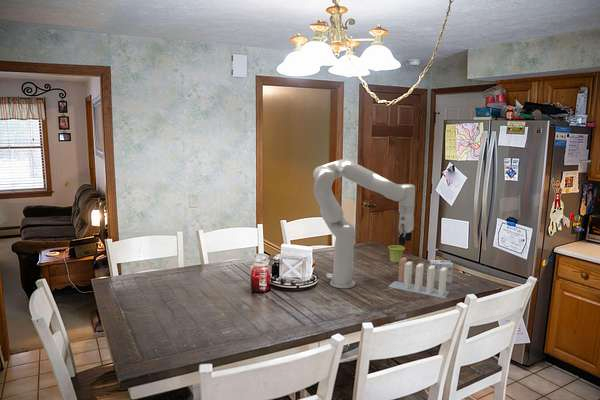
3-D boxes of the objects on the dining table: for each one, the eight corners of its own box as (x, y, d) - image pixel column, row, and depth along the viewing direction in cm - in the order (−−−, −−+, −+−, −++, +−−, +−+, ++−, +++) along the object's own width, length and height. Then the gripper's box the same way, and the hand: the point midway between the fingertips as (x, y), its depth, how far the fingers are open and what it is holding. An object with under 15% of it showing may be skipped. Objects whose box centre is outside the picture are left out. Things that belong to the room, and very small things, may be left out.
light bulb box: (449, 280, 233) (450, 260, 232) (452, 284, 227) (453, 264, 225) (428, 279, 234) (429, 259, 233) (430, 283, 228) (432, 262, 226)
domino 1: (398, 282, 227) (399, 260, 225) (401, 279, 232) (403, 257, 231) (401, 283, 226) (403, 260, 224) (405, 280, 231) (407, 257, 230)
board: (387, 288, 219) (387, 286, 219) (394, 282, 227) (394, 281, 227) (444, 300, 205) (444, 298, 205) (449, 293, 214) (449, 291, 214)
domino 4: (426, 292, 211) (427, 268, 209) (429, 289, 216) (431, 265, 214) (430, 293, 210) (432, 268, 208) (433, 289, 215) (435, 265, 213)
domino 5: (437, 295, 208) (439, 270, 207) (441, 291, 214) (442, 267, 212) (442, 296, 207) (444, 271, 206) (445, 292, 213) (447, 267, 211)
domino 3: (414, 290, 214) (416, 266, 212) (418, 286, 219) (419, 263, 217) (418, 291, 213) (420, 266, 211) (422, 287, 218) (423, 263, 216)
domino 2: (403, 288, 217) (404, 264, 215) (407, 284, 222) (408, 261, 220) (407, 289, 216) (408, 264, 214) (411, 285, 221) (412, 261, 219)
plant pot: (406, 261, 266) (406, 246, 265) (400, 264, 258) (401, 250, 257) (390, 258, 271) (391, 244, 270) (385, 262, 263) (385, 247, 262)
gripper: (408, 212, 214) (407, 247, 217) (418, 207, 229) (417, 239, 232) (393, 211, 218) (392, 245, 221) (404, 205, 233) (403, 238, 236)
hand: (405, 242), depth 226 cm, fingers open, 9 cm apart
